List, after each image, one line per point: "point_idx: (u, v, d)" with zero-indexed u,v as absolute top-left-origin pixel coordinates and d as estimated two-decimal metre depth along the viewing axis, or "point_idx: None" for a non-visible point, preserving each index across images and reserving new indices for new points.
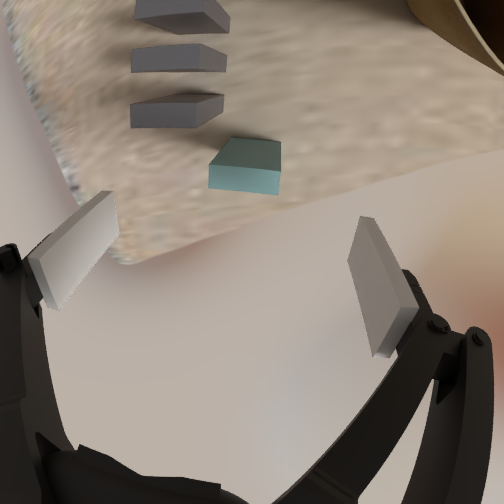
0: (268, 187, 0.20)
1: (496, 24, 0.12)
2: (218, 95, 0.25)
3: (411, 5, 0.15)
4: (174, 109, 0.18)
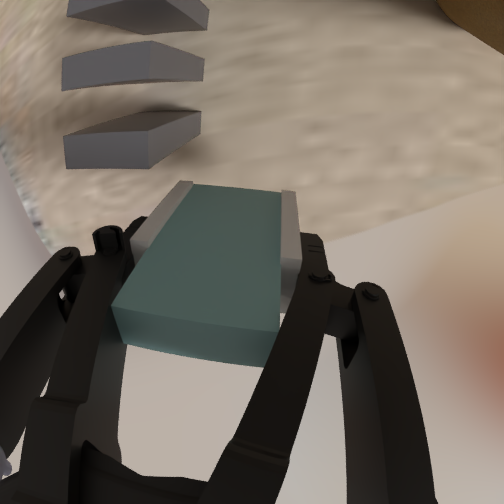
0: (249, 356, 0.09)
1: None
2: (192, 112, 0.19)
3: None
4: (118, 141, 0.12)
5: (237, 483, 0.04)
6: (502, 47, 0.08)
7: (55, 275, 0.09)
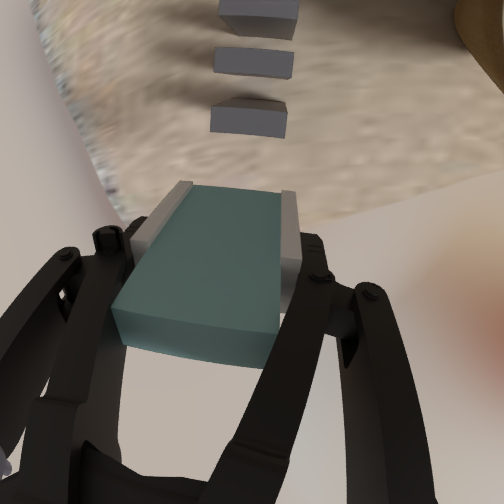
0: (249, 358, 0.09)
1: None
2: (281, 103, 0.25)
3: (461, 36, 0.15)
4: (262, 116, 0.18)
5: (237, 483, 0.04)
6: None
7: (55, 275, 0.09)
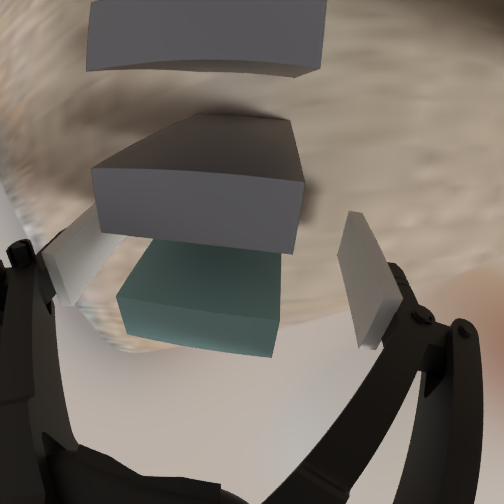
0: (250, 345, 0.09)
1: None
2: (284, 122, 0.13)
3: None
4: (228, 195, 0.06)
5: None
6: None
7: None
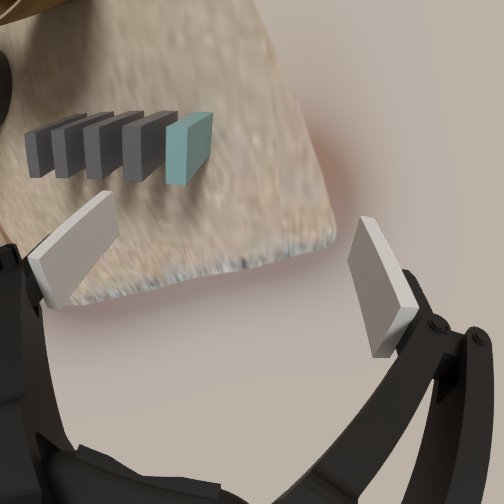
0: (181, 135, 0.22)
1: None
2: None
3: None
4: (127, 144, 0.22)
5: None
6: None
7: None
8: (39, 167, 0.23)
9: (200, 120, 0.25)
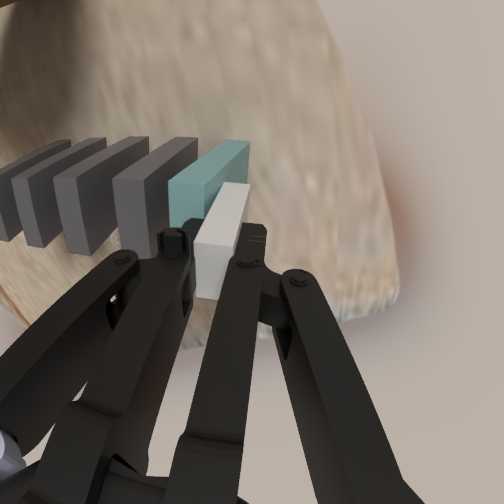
0: (193, 198, 0.13)
1: None
2: None
3: None
4: (123, 207, 0.14)
5: (196, 474, 0.04)
6: None
7: (107, 280, 0.09)
8: (5, 228, 0.16)
9: (229, 162, 0.16)
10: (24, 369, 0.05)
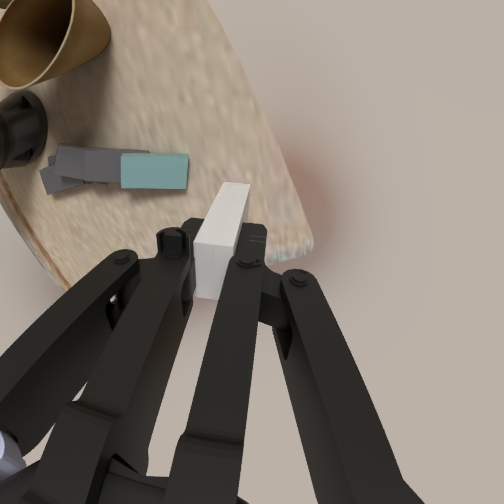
0: (121, 160, 0.38)
1: None
2: None
3: (90, 58, 0.29)
4: None
5: (197, 474, 0.04)
6: (93, 38, 0.25)
7: (107, 280, 0.09)
8: None
9: (149, 157, 0.39)
10: (24, 369, 0.05)
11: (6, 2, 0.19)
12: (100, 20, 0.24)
